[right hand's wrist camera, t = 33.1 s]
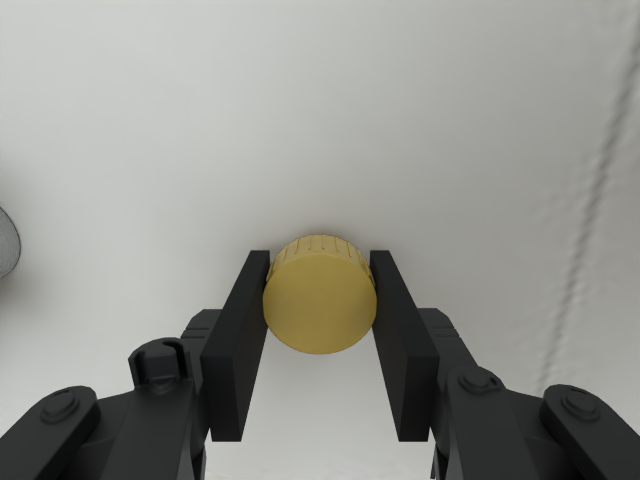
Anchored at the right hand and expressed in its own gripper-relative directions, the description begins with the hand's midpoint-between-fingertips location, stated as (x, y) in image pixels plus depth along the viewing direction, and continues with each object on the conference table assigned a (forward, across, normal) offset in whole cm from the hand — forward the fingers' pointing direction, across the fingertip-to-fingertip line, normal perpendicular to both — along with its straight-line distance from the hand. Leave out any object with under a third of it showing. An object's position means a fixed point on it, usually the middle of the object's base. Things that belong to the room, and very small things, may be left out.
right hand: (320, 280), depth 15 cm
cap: (-2, 0, 0) cm, 2 cm away
